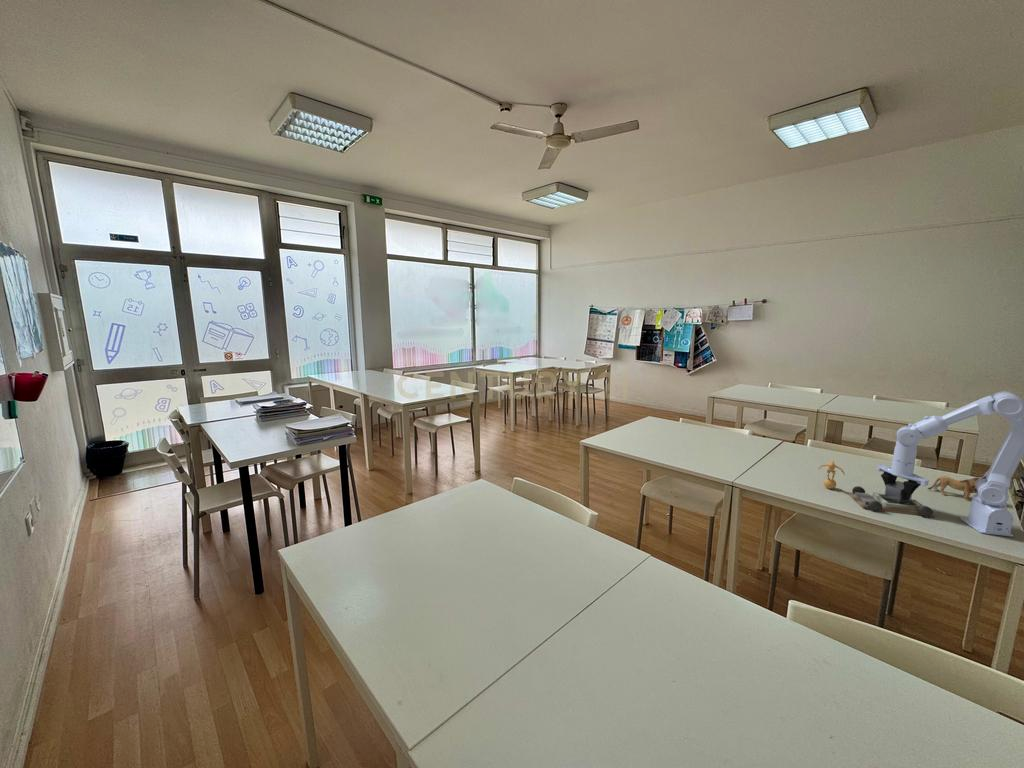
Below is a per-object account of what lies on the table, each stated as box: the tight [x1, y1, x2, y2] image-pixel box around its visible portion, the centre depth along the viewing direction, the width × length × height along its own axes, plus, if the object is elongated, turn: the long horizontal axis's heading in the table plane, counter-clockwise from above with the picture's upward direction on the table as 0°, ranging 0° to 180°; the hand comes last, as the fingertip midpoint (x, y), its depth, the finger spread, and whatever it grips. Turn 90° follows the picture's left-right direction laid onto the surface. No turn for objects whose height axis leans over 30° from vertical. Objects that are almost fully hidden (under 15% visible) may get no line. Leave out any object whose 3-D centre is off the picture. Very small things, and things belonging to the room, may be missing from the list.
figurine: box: [818, 460, 845, 490], centre depth 162 cm, size 8×6×12 cm
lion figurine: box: [927, 476, 982, 502], centre depth 155 cm, size 15×5×9 cm, turn 45°
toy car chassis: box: [848, 485, 936, 518], centre depth 149 cm, size 13×20×4 cm
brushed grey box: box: [884, 480, 913, 504], centre depth 148 cm, size 4×6×6 cm
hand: (897, 496), depth 148 cm, fingers closed on brushed grey box, 4 cm apart
